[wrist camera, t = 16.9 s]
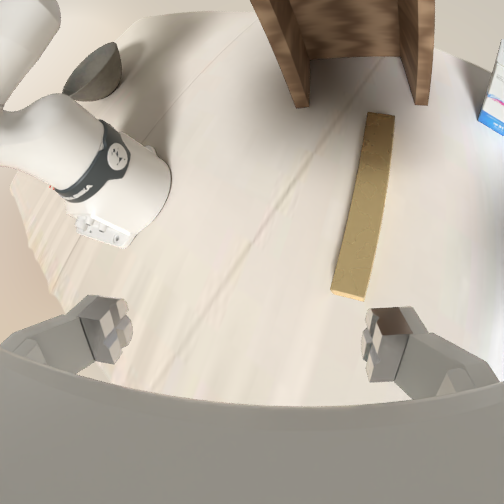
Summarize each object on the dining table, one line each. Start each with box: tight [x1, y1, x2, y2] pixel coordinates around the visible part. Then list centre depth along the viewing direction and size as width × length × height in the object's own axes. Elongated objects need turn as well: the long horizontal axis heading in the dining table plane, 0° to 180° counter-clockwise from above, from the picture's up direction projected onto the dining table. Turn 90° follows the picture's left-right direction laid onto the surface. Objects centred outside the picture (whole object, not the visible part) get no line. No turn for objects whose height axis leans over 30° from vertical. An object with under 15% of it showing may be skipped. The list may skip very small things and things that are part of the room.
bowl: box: [62, 42, 122, 101], centre depth 61 cm, size 19×19×10 cm
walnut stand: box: [250, 0, 435, 108], centre depth 28 cm, size 20×14×26 cm
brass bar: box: [330, 112, 395, 302], centre depth 33 cm, size 4×23×4 cm, turn 162°
